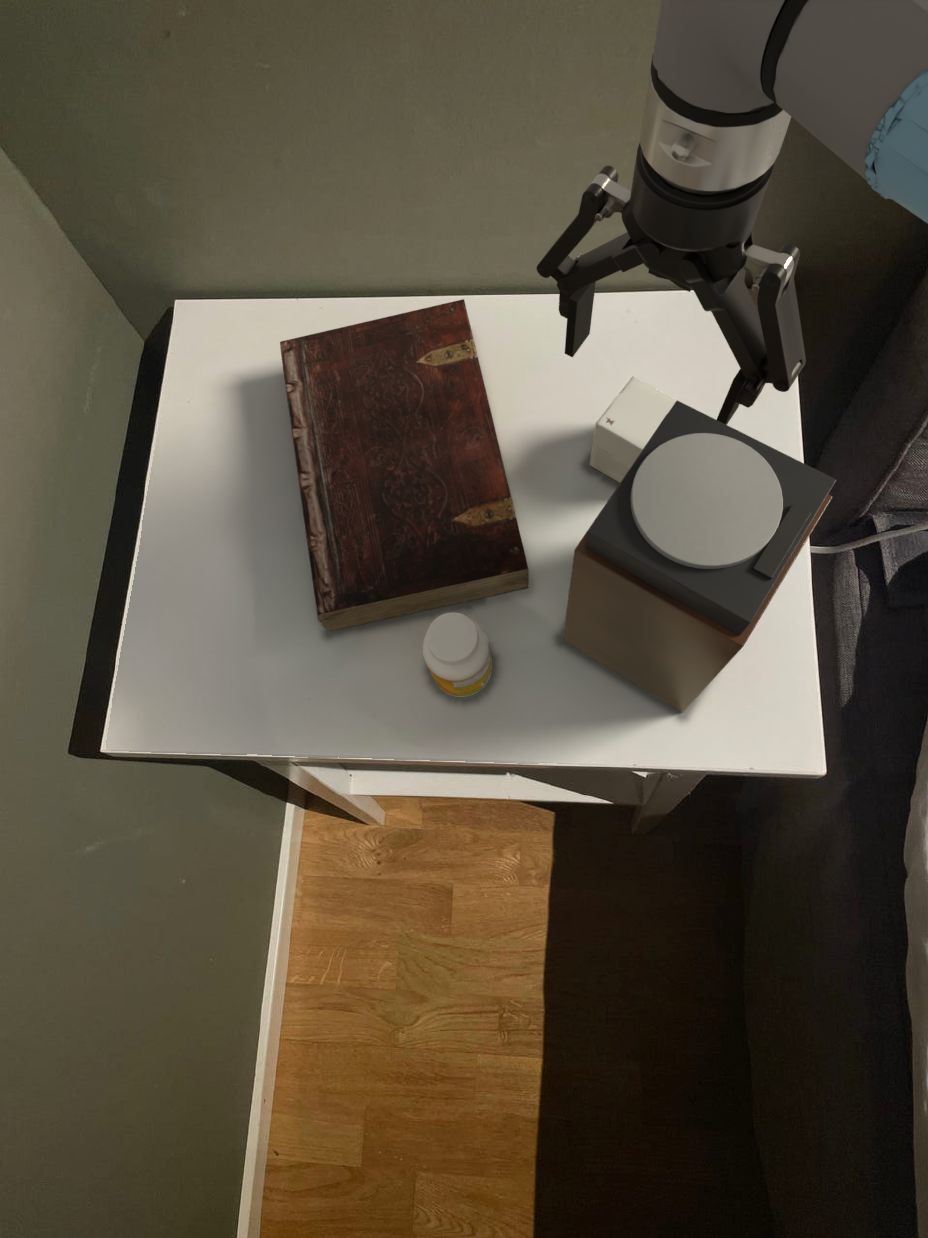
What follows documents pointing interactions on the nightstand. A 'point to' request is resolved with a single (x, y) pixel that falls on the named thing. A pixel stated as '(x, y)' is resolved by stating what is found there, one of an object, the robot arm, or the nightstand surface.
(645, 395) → the product box
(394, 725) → the nightstand surface
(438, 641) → the supplement bottle
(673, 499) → the scale
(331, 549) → the hardback book
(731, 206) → the robot arm
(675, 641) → the riser
